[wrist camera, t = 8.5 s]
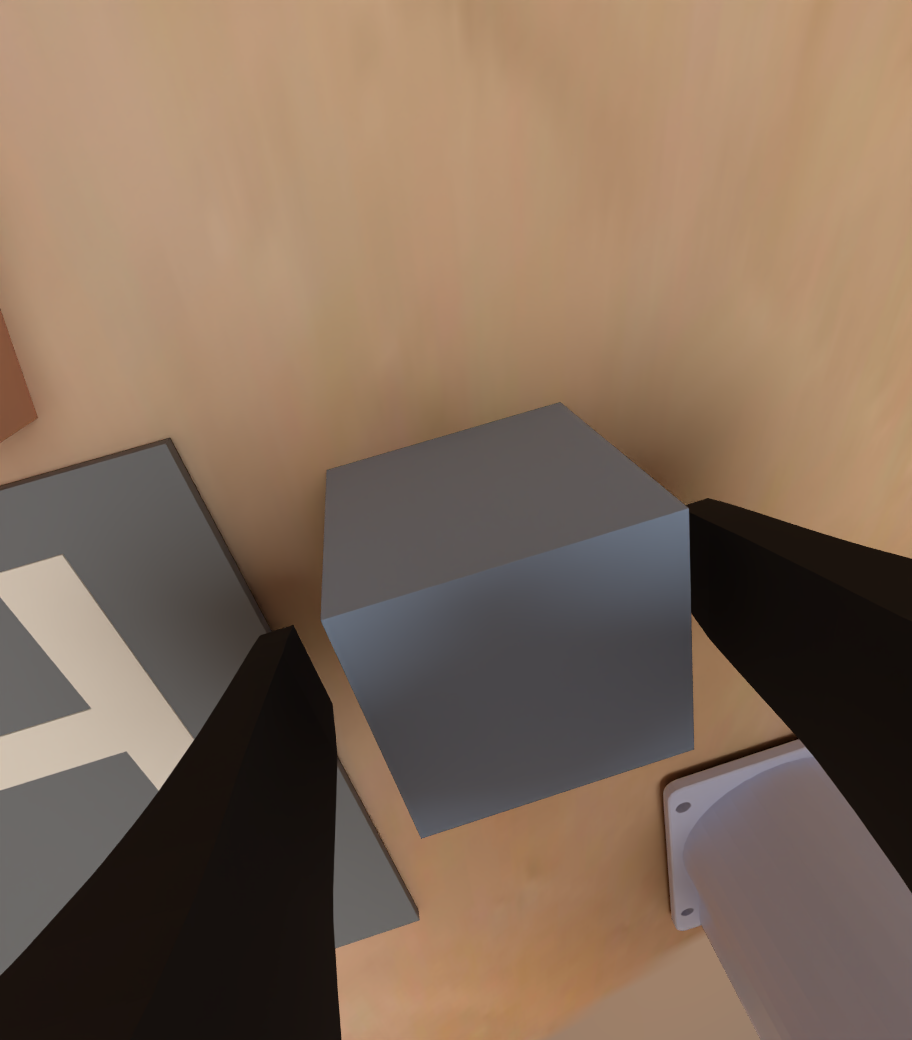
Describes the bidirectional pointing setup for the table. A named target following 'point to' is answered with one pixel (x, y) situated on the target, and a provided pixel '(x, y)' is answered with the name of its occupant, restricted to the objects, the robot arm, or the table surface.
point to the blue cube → (509, 613)
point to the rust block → (12, 389)
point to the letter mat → (126, 682)
